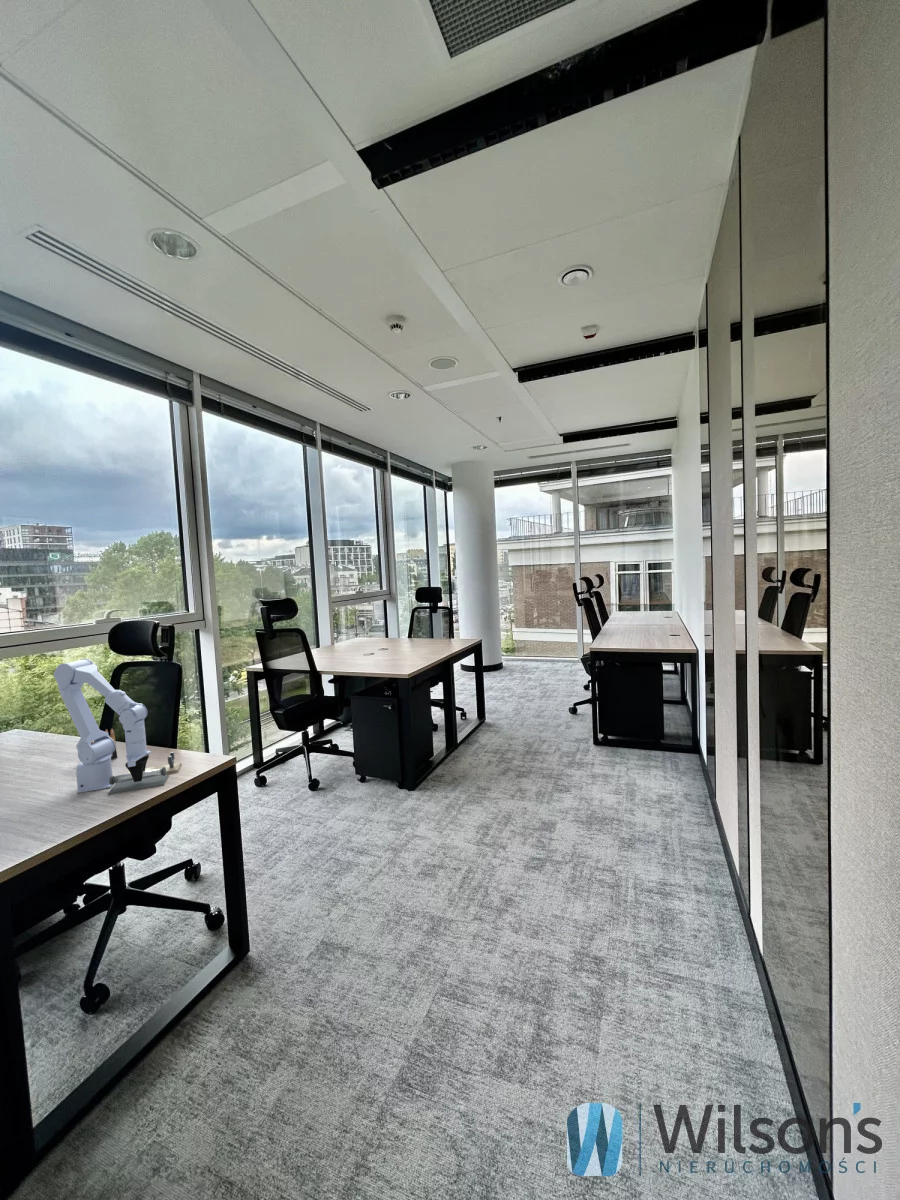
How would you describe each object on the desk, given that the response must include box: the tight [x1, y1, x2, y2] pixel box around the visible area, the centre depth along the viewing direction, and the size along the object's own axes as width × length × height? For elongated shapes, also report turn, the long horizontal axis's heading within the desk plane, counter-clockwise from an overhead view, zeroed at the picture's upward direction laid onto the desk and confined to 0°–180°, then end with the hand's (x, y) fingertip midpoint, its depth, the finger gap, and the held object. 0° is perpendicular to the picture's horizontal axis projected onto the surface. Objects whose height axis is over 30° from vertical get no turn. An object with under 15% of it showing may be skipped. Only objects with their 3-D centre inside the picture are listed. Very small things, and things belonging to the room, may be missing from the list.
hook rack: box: [126, 751, 182, 775], centre depth 171 cm, size 17×7×6 cm, turn 110°
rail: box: [109, 767, 167, 786], centre depth 161 cm, size 16×3×3 cm, turn 110°
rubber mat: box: [107, 774, 169, 796], centre depth 161 cm, size 16×8×1 cm, turn 110°
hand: (139, 779), depth 161 cm, fingers closed on rail, 2 cm apart
